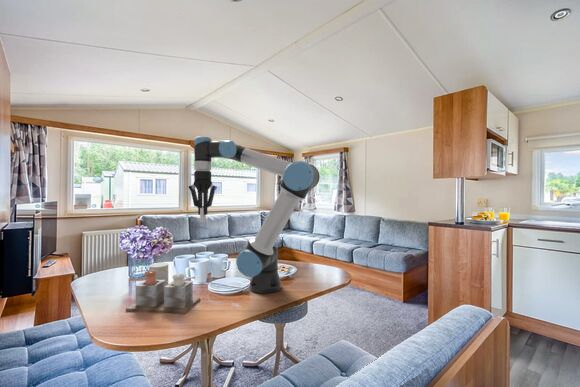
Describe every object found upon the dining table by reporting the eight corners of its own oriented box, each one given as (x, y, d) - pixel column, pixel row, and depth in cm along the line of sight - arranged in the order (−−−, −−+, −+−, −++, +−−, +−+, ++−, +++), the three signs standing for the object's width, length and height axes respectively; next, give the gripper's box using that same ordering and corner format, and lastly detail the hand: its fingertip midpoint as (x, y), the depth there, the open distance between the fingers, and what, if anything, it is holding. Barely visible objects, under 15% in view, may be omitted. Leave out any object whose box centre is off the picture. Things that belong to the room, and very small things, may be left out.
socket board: (200, 299, 123) (200, 279, 123) (184, 314, 109) (184, 290, 109) (147, 297, 126) (147, 277, 126) (126, 311, 112) (125, 288, 112)
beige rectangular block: (161, 294, 130) (161, 267, 130) (145, 292, 132) (145, 266, 131) (172, 288, 138) (171, 263, 138) (157, 286, 140) (156, 262, 139)
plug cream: (186, 297, 119) (186, 273, 119) (181, 302, 114) (181, 277, 114) (176, 297, 119) (176, 273, 119) (170, 301, 115) (170, 276, 115)
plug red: (159, 294, 120) (159, 270, 120) (153, 298, 116) (152, 273, 115) (149, 293, 121) (148, 270, 121) (142, 297, 116) (142, 273, 116)
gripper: (219, 171, 136) (219, 221, 136) (192, 171, 137) (192, 220, 137) (213, 170, 128) (213, 223, 129) (185, 170, 130) (185, 222, 130)
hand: (202, 221), depth 133 cm, fingers closed
